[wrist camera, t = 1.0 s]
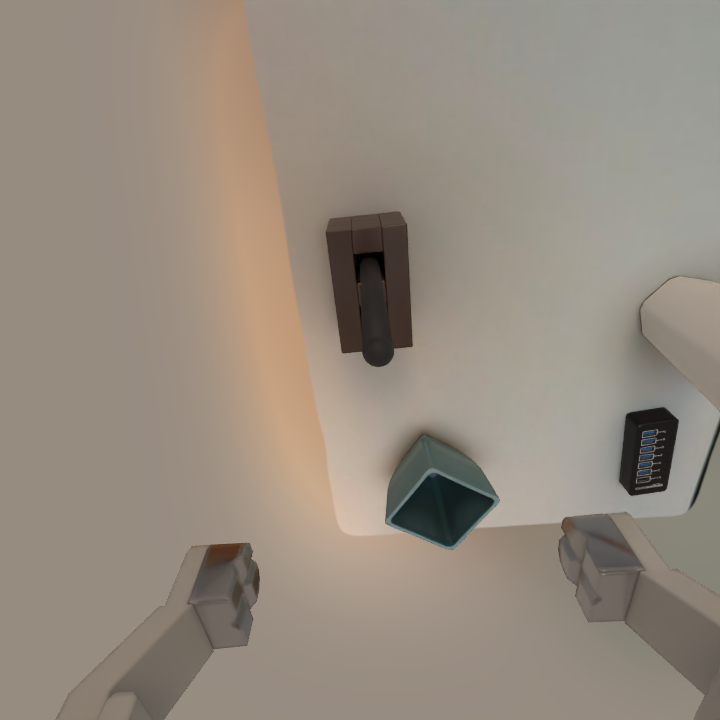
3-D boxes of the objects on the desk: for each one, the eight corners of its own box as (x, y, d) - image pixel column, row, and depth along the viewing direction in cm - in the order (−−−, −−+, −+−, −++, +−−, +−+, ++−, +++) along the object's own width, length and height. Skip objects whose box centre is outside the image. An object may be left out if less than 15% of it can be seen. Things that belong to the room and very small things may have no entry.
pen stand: (343, 327, 44) (341, 353, 39) (329, 218, 39) (325, 231, 34) (405, 321, 44) (412, 347, 38) (400, 211, 39) (406, 223, 33)
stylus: (356, 252, 40) (356, 361, 21) (366, 238, 40) (375, 337, 20) (369, 261, 41) (381, 378, 21) (379, 248, 40) (402, 355, 21)
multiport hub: (666, 406, 49) (680, 418, 47) (655, 477, 54) (667, 491, 52) (626, 413, 49) (638, 425, 47) (619, 483, 54) (629, 496, 52)
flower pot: (418, 414, 49) (430, 467, 41) (480, 443, 51) (502, 500, 43) (379, 465, 53) (383, 524, 45) (438, 491, 55) (452, 552, 47)
